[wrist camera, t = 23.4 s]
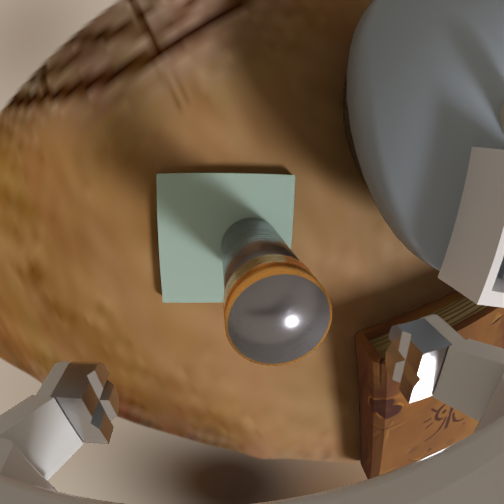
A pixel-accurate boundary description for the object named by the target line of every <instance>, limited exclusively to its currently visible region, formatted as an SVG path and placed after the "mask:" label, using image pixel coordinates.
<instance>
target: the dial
mask: <svg viewBox="0 0 504 504" xmlns="http://www.w3.org/2000/svg"><path fill="white" fill-rule="evenodd" d="M347 104H348V112H349V122H350V127H351V132H352V137H353V141H354V146H355V151H356V154H357V157H358V160H359V164H360V167H361V170H362V173H363V176H364V179H365V181H366V183H367V186H368V188H369V191H370V193H371V195H372V198H373V200H374V202H375V203H376V205H377V207H378V209H379V211H380V213H381V214H382V216H383V218H384V220H385V221H386V222H387V224H388V225H389V227H390V228H391V230H392V231H393V233H394V234H395V235H396V237H397V238H398V239H399V240H400V241H401V242H402V243H403V244H404V245H405V246H406V247H407V249H408V250H410V251H411V252H412V253H413V254H415V255H416V256H417V257H418V258H420V259H421V260H422V261H424V262H426V263H427V264H429V265H431V266H432V267H434V268H435V269H437V270H439V271H440V272H439V275H438V278H439V279H440V280H442V281H443V282H445V283H446V284H448V285H449V286H451V287H452V288H454V289H455V290H457V291H458V292H460V293H461V294H463V295H464V296H466V297H467V298H468V299H470V300H471V301H473V302H474V303H476V304H477V305H485V306H493V307H501V308H504V0H373V1H372V2H371V3H370V4H369V6H368V7H367V8H366V10H365V11H364V13H363V14H362V16H361V18H360V20H359V22H358V25H357V27H356V29H355V31H354V35H353V39H352V43H351V46H350V50H349V58H348V67H347Z"/></svg>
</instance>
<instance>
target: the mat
mask: <svg viewBox="0 0 504 504" xmlns="http://www.w3.org/2000/svg"><path fill="white" fill-rule="evenodd" d="M156 183H157V221H158V243H159V259H160V273H161V286H162V297H163V302H175V303H200V302H223V296H224V279H223V266H222V253H221V243H222V238H223V236H224V234H225V232H226V230H227V229H228V228H229V227H230V226H231V225H232V224H233V223H235V222H237V221H239V220H241V219H244V218H259V219H262V220H264V221H266V222H268V223H269V224H271V225H272V226H273V227H274V229H275V230H276V231H277V232H278V234H279V235H280V236H281V238H282V239H283V240H284V241H285V243H286V244H287V245H288V247H289V248H290V249H291V242H292V226H293V210H294V192H295V175H292V174H267V173H159V174H156Z"/></svg>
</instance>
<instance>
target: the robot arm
mask: <svg viewBox="0 0 504 504" xmlns="http://www.w3.org/2000/svg"><path fill="white" fill-rule="evenodd" d="M389 339H390V341H391V342H392V344H391V345H390V346H389V348H388V349H387V350H386V357H385V362H386V369H387V371H388V374H389V375H390V377H391V378H392V380H394V381H397V382H399V383H400V386H399V390H400V392H401V393H402V395H403V396H404V397H405V399H406V400H407V402H408V403H412V402H415V401H418V400H421V399H424V398H427V397H430V396H432V395H433V397H434V398H436V399H438V400H439V401H441V402H443V403H445V404H447V405H449V406H451V407H452V408H454V409H456V410H458V411H460V412H462V413H464V414H465V415H467V416H469V417H471V418H473V419H475V420H477V421H479V423H478V424H477V426H476V428H475V430H474V431H473V434H471V435H470V436H468V437H466V438H464V439H462V440H460V441H459V442H457V443H455V444H453V445H451V446H449V447H447V448H445V449H443V450H441V451H438V452H436V453H434V454H432V455H430V456H428V457H425V458H423V459H421V460H418V461H416V462H414V463H411V464H409V465H406V466H404V467H401V468H399V469H396V470H393V471H391V472H388V473H385V474H382V475H379V476H376V477H373V478H370V479H367V480H364V481H361V482H358V483H354V484H351V485H347V486H343V487H340V488H336V489H332V490H328V491H324V492H319V493H315V494H311V495H305V496H301V497H295V498H289V499H283V500H277V501H270V502H263V503H255V504H504V349H503V348H500V347H496V346H493V345H489V344H486V343H482V342H479V341H476V340H472V339H467V340H465V339H464V338H463V337H462V336H461V335H460V334H459V333H457V332H456V331H455V330H454V329H453V328H452V327H451V326H450V325H448V324H447V323H446V322H445V321H444V320H443V319H442V318H440V317H439V316H438V315H435V314H432V315H429V316H425V317H422V318H420V319H417V320H413V321H410V322H406V323H402V324H398V325H394V326H392V327H391V329H390V332H389ZM108 375H109V373H108V370H107V368H106V366H105V365H104V364H103V363H101V362H64V361H59V362H57V363H55V365H54V366H53V368H52V369H51V371H50V373H49V374H48V376H47V378H46V379H45V381H44V383H43V384H42V386H41V388H40V389H39V391H38V393H37V394H36V395H31V396H30V397H28V398H27V399H25V400H24V401H22V402H20V403H19V404H17V405H16V406H14V407H13V408H11V409H9V410H8V411H6V412H5V413H4V414H2V415H0V504H123V503H114V502H108V501H101V500H95V499H90V498H84V497H79V496H74V495H70V494H65V493H61V492H58V491H57V490H56V489H55V488H54V487H53V486H52V485H51V484H50V483H49V482H48V480H49V479H50V478H51V477H52V476H53V475H54V473H55V472H56V471H57V470H58V469H59V468H60V467H61V466H62V465H63V464H64V463H65V462H66V461H67V460H68V459H69V458H70V457H71V456H72V455H73V454H74V453H75V452H76V451H77V450H78V449H79V448H80V447H81V446H82V445H83V442H87V443H100V444H109V441H110V438H111V434H112V431H113V425H112V423H111V420H112V419H114V418H115V417H116V416H117V413H118V410H119V398H118V394H117V391H116V388H115V386H114V385H113V384H112V383H111V382H109V381H108V380H107V378H108Z"/></svg>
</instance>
